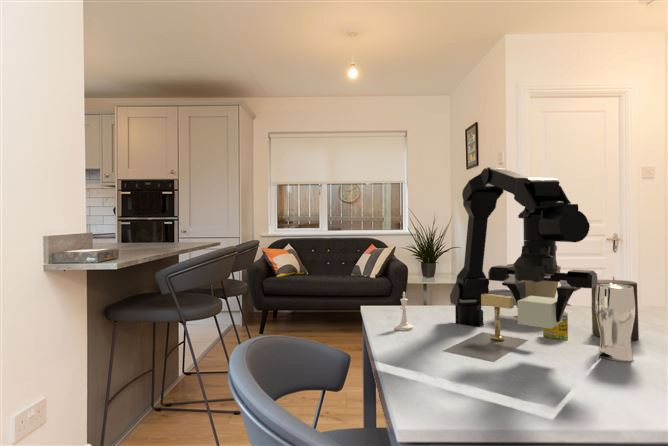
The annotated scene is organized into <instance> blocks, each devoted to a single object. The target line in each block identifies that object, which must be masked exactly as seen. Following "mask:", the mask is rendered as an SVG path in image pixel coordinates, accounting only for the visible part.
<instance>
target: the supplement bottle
mask: <svg viewBox="0 0 668 446" xmlns="http://www.w3.org/2000/svg"><path fill="white" fill-rule="evenodd" d="M562 317H563V321H562V322H561V323H559V324H558V325H556V326H555V327H553V328H552V329H550V328H543V327H542V336H543V339H549V340H556V341H560V342H561V341H563V342H568V341H569V329H568V328H569V326H568V325H569V324H568V321H569V320H568V318H569V316H568V311H567V310H566V309H565V310H564V312H563V315H562Z"/></svg>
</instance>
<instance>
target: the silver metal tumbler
mask: <svg viewBox="0 0 668 446" xmlns="http://www.w3.org/2000/svg"><path fill="white" fill-rule="evenodd" d="M633 288H634V287H633V286H628V285H620V284H598V285H597V286H596V294H595V310H596V317H597V321H598V326H599V331H600V337H599V338H600V342H599V348H598V351H600V352H601V353H600V354H599V356H598V357H600V358H602V359H605V360H608V361H614V362H622V363H623V362H626V363H627V362H631V361H634V353H633V350H632V343H631V342H632V341H631V334H632V329H633V324H634V318H635V298H634V289H633Z"/></svg>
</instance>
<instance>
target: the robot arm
mask: <svg viewBox="0 0 668 446" xmlns="http://www.w3.org/2000/svg"><path fill="white" fill-rule="evenodd" d="M560 183H561V182H560V181H559V180H558V179H557V178H554V177H530V176H526V175H523V174H520V173H517V172H514V171H511V170H507V168H504V167H503V166H502V167H496V166H494V167H490V166H487V167H486V168H483V169H482V170H481V172H480V173H479V174H477V175H475V176H474V177H473V178H471V179H469V180H468V181H467V183H466V184H465V186H464V187H463V189H462V193H461V194H462V195H461V196H462V200H463V202H462V203H463V208H464V209H465V212H466V213H467V215H468V221H467V229H466V232H467V233H466V240H465V241H466V242H465V253H464V263H463V267H462V269H461V270H460V271H459V272H458V274H457V275H456V280H455V283H454V286H453V288H452V289H451V292H450V295H449V299H450V304H453V305H454V306H455V315H454V316H455V322H454V324H456V325H462V326H468V327H474V328H481V327H484V326H485V323H484V310H483V309H482V305H481V294H490V292H489V290H490V289H489V285H490V281H495V282H501V285H502V286H504V287H507V289H508V290H510V293H511V294H512V297H513V296H514V298H515V300H516V303H517V301H518V300H521V299H523V298H526V289H525V281H523V280H528V281H533V282H541V281H555V282H558V283H559V284H560V286H558V287H557V291H556V294H557V297H556V298H557V308H556V322H560V320H561V317H562V315H563V312H564V310H566V307H567V304H568V303H569V301H570V299H571V298H572V297H571V296H572V295H573V294H574V293H575V292H577V291H579V290H581V289H591V288H593V287H595V286H597V285H598V284H597V280H598V274H597V273H596V272H595V270H589V269H588V270H587V269H571V270H568V271H567V272H561V271H560V272H556V271H557V265H558V262H557V251H558V245H556V244H557V242H562V243H579V242H582V241H583V240H584V239H586V237H587V236H588V235H589V232H590V226H591V225H590V222H589V220H588V217H587V216H586V215H585V214H584V212H582V211H580V210H579V203H571V201H570V199H568V196H567V195H566V193H565V191H564V189H563V188H562V186H561V184H560ZM504 191H506V192H507V193H510V194H512V195H513V199H514V200H515V201H516V203H518V204H519V205H520V206H522V207H524V208H523V210H522V211H521V212H519V214H518V215H517V218H518V219H523V222H522V223H523V226H522V227H523V245H522V247H521V254H520V256H519V257H518V258H517V259H516V260H515V262H513V264H514V266H507V265H501V264H500V265H495V266H490V268H489V270H488V277H487V276H486V274H485V273H484V270H483V269H484V262H485V261H484V259H485V253H486V252H485V249H486V242H487V241H486V240H487V229H488V222H489V221H488V220H489V217H490V216H491V215H492V213H494V211H495V210H496V208H497V203H498V202H497V201H498V200H499V198H500V197H501V196H502V195H503V194H504ZM515 300H514V301H515ZM516 303H515V304H516ZM517 306H518V303H517ZM517 306H516V307H517Z"/></svg>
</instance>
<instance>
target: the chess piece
mask: <svg viewBox="0 0 668 446" xmlns="http://www.w3.org/2000/svg"><path fill="white" fill-rule="evenodd" d="M408 300H409V299H408V298H406V292H405V291H403V292H402V298H400V303H401V306H400V310H401V311H402V312H401V319H400V320H401V321H400V322H399V323H398V324H396V325H395V328H394V329H395V330H397V331H402V332H409V331H413V330H414V326H413V325H412V324H410V323H409V322H408V319H407V317H408V316H407V310H409V308H408V307H407V304H408Z"/></svg>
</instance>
